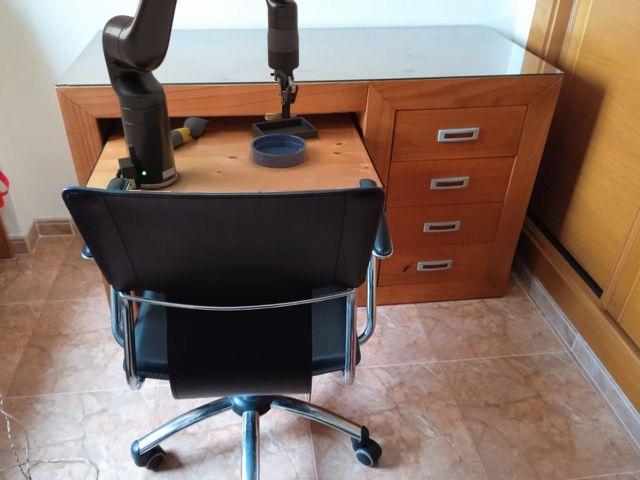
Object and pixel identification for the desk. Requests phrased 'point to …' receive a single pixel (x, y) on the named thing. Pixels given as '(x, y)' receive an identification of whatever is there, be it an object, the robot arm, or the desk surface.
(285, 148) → the bowl
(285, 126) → the pen tray
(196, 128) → the paintbrush
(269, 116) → the wooden stick
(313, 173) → the desk surface
